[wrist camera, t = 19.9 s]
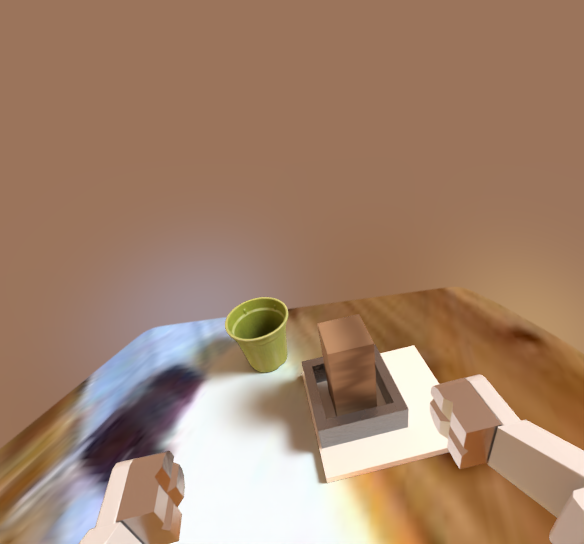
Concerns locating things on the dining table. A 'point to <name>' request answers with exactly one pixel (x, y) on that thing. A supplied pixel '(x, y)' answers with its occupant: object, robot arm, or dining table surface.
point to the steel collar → (360, 421)
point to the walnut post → (349, 364)
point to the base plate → (396, 444)
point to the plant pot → (260, 332)
